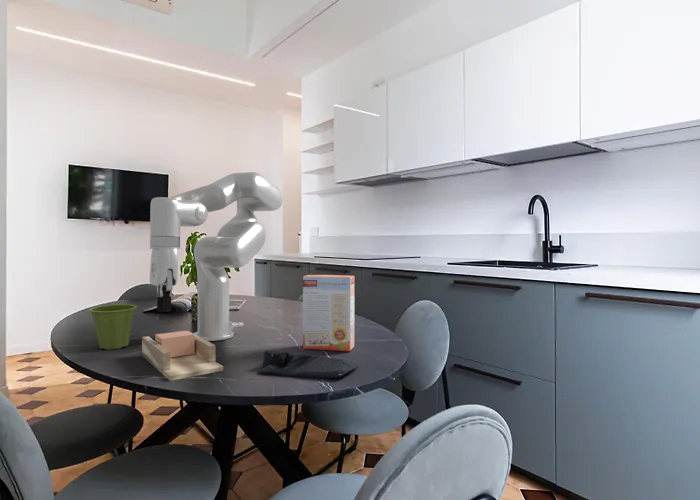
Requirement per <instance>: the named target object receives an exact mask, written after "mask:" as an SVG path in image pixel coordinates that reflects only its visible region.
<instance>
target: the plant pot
mask: <svg viewBox="0 0 700 500" xmlns="http://www.w3.org/2000/svg"><path fill="white" fill-rule="evenodd" d="M137 308H138V305H135V304H127V303H126V304H123V303H122V304H120V303H119V304H106V305H100V306H95V307H91V308H89V312H91V316H92V319H93V322H94V325H95V331H96V335H97V341H98V345H99V348H100V349H101V350H103V349H104V350H108V351H109V350H111V351H112V350H118V349H121V348H122V347H128V346H129V343H130V338H131V332H132V331H131V330H132V325H133V318H134V316H135V311H136V309H137Z"/></svg>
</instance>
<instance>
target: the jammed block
mask: <svg viewBox="0 0 700 500" xmlns="http://www.w3.org/2000/svg"><path fill="white" fill-rule="evenodd" d="M193 333H194V332H193ZM193 333H192V332H191V331H189V330H181V331H172V332H165V333H156V334H154V338H155V339H154V341H156V342H157V343H158V344H160V345H161V346H163V347H164V348H165V349H167V350H168V351H170V358H171V357H178V356H184V355H190V354H195V334H193Z"/></svg>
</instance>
